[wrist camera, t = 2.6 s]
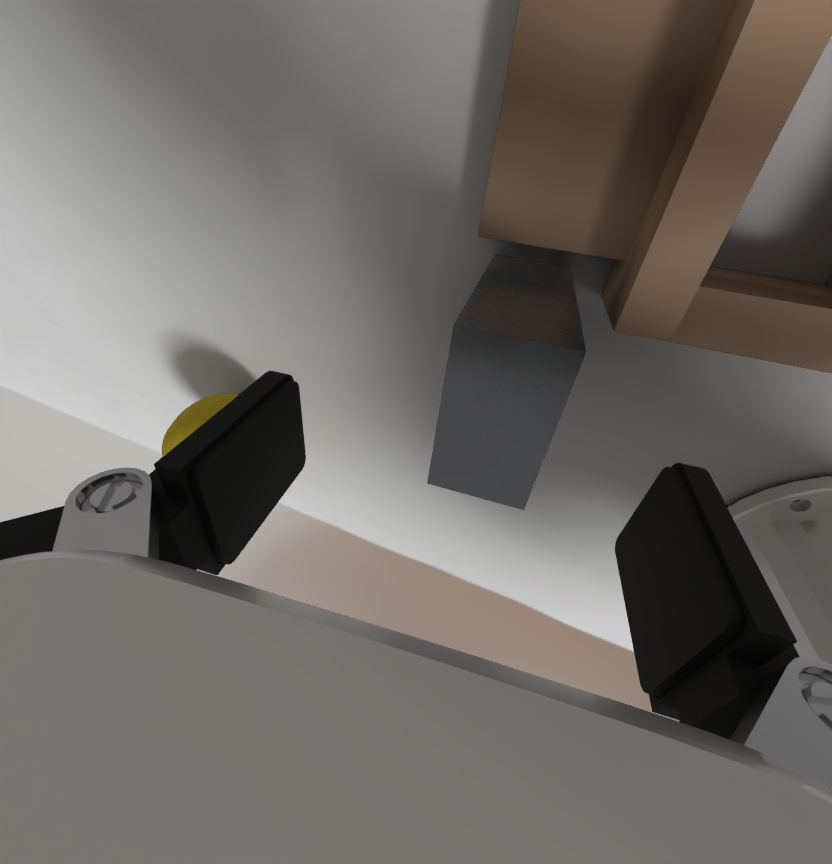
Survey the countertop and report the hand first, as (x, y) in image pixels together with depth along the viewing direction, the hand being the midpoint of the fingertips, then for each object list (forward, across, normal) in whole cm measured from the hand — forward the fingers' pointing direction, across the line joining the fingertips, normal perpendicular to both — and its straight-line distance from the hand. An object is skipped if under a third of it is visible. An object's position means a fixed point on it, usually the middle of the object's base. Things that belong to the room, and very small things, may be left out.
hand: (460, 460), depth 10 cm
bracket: (+12, -1, 0) cm, 12 cm away
